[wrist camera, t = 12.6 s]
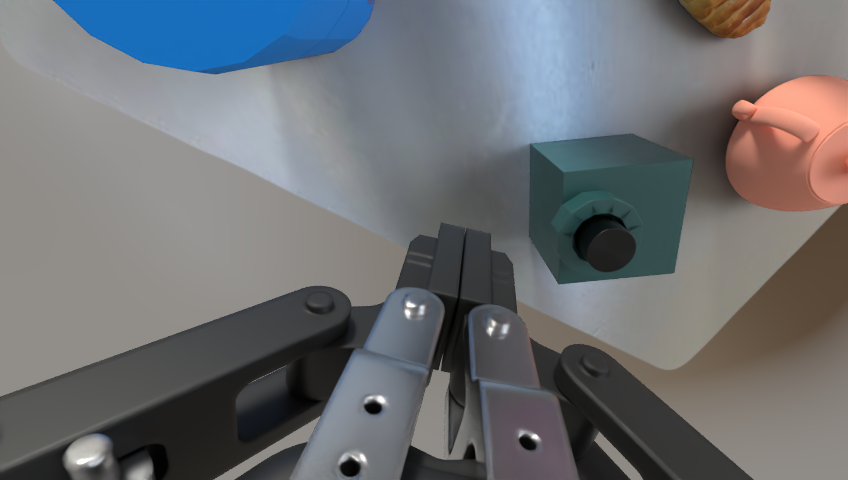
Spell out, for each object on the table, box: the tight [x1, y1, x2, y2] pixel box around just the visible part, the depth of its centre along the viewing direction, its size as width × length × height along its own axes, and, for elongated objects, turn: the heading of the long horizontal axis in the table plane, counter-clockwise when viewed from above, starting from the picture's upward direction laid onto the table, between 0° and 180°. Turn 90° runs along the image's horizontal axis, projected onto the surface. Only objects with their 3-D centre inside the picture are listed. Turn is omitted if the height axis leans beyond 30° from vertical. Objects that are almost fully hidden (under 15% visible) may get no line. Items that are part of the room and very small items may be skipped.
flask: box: [529, 134, 693, 284], centre depth 39 cm, size 11×10×12 cm
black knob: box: [575, 216, 636, 272], centre depth 33 cm, size 4×4×3 cm
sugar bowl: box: [726, 75, 848, 211], centre depth 39 cm, size 12×14×10 cm
